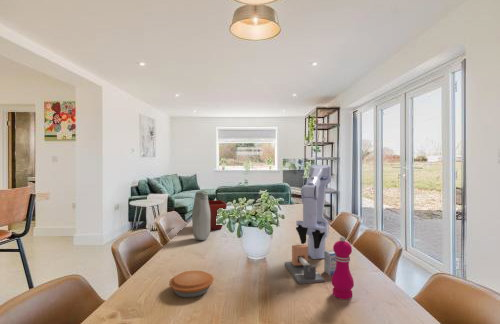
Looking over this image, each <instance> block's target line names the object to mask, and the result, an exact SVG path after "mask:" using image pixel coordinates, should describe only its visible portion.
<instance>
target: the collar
mask: <svg viewBox="0 0 500 324" xmlns="http://www.w3.org/2000/svg"><path fill="white" fill-rule="evenodd" d="M298 256H302V257H303V258H304V259H305V260H306V261H307V262H309V255H308V245H307V244H296V245H295V244H293V245H291V262H292V264H293V265H294V266H296V265H303V264H302V263H301V262H300V261H299V260H298Z"/></svg>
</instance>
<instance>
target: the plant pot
mask: <svg viewBox="0 0 500 324" xmlns="http://www.w3.org/2000/svg"><path fill="white" fill-rule="evenodd" d="M208 202H209V207H210V214H211V218H210V231H212V230H221V229H222V227H223V225H216V216H217V210H218V209H219V208H223V209H226V210H227V206H228V205H227V204H228V203H226V202H224V201H223V200H222V199H219V200H218V199H217V200H208Z"/></svg>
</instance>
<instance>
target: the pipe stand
mask: <svg viewBox="0 0 500 324" xmlns="http://www.w3.org/2000/svg"><path fill="white" fill-rule="evenodd" d="M298 260H299V261H300V262H301V263H302V264H303V265H296V266H294V265H293V264H292V261H284V265H285V267H286V268H287V269H288V271H289V272H290V273H291V275H292V276H293V278H294V279H295V280H296V282H297V283H298V284H299V285H301V284H311V283H313V284H314V283H324V282H325V278H324V277H323V276H322V275H321V274H320V273H319V271H317V268H316V267H317V266H316V265H315V264H311V263H310V262H309V261H308V262H307V261H306V260H305V259H304V258H303V257H302V256H298Z"/></svg>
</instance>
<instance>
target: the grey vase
mask: <svg viewBox="0 0 500 324" xmlns="http://www.w3.org/2000/svg"><path fill="white" fill-rule="evenodd" d="M208 201H209V195H208V192H207V191H206V190H198V191H196V192H195V194H194V200H193V207H192V211H191V212H192V213H191V220H192V221H191V222H192V228H191V229H192V234H193V237H194V238H195V240H197V241H205V240H207V239H208V238H209V236H210V234H211V230H210V218H211V214H210V207H209V202H208Z"/></svg>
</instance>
